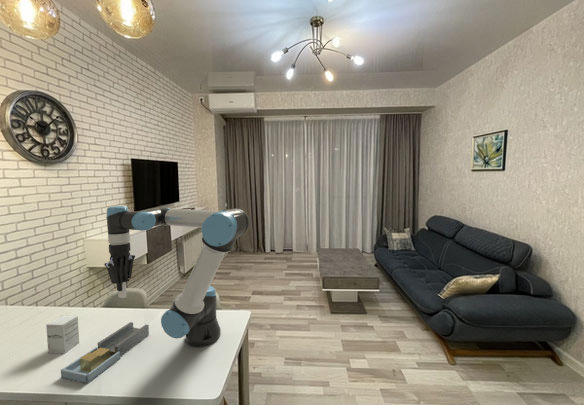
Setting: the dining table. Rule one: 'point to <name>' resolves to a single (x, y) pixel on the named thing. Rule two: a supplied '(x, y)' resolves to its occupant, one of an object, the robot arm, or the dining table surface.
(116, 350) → the slot bed
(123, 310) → the dining table surface
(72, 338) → the supplement box
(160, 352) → the dining table surface
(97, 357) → the yellow brown block
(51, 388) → the dining table surface
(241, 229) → the robot arm
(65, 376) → the tray
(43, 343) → the dining table surface
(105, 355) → the chip
